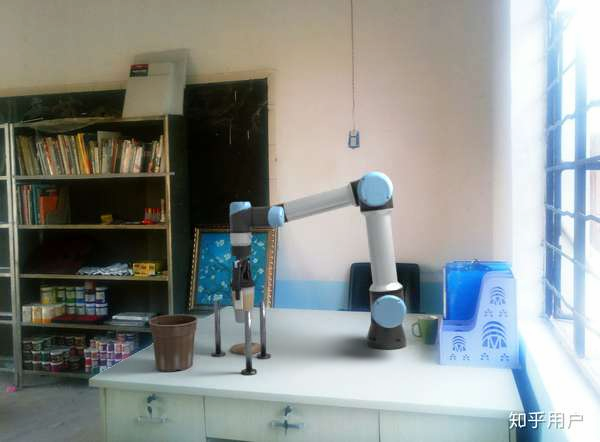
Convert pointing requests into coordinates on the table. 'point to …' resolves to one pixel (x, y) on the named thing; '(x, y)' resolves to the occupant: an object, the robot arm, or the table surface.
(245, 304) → the coffee cup
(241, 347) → the coaster
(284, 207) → the robot arm
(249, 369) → the pole outer
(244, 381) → the table surface
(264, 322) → the pole corner
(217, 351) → the pole far
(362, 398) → the table surface
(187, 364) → the plant pot
